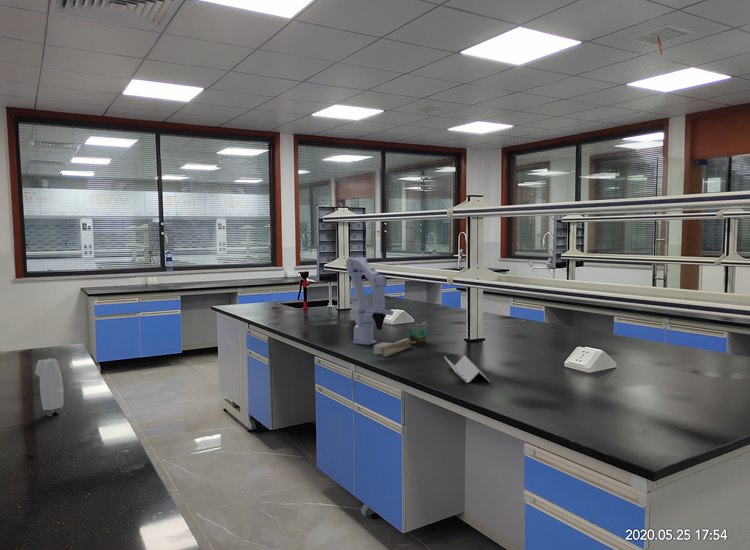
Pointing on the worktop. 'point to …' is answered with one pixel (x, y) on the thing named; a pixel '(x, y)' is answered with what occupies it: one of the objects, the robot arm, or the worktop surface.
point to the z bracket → (466, 369)
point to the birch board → (395, 347)
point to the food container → (417, 333)
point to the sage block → (378, 347)
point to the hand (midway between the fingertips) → (379, 329)
